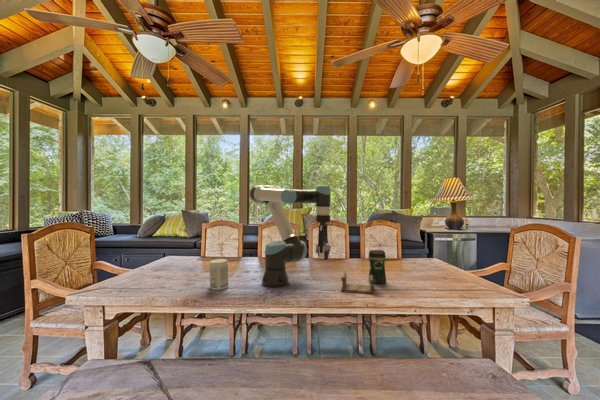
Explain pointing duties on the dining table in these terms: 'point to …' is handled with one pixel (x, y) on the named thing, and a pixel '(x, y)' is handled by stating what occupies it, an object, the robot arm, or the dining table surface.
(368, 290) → the holder
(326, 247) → the potion bottle
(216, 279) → the supplement tub
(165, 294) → the dining table surface
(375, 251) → the coffee jar
